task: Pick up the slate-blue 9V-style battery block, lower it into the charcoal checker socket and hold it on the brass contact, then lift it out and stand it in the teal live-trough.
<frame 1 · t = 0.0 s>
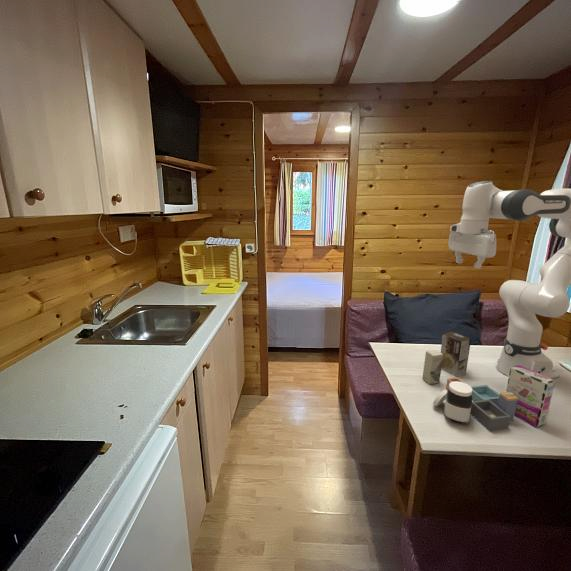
hand: (467, 265, 116), 48 cm above the table, fingers open, 8 cm apart
candy bar box: (522, 416, 106), on the table
spread jar: (450, 413, 108), on the table
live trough: (483, 400, 114), on the table
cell: (504, 418, 105), on the table
box: (430, 381, 127), on the table
coffee box: (452, 370, 135), on the table
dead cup: (454, 392, 119), on the table
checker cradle: (488, 420, 104), on the table
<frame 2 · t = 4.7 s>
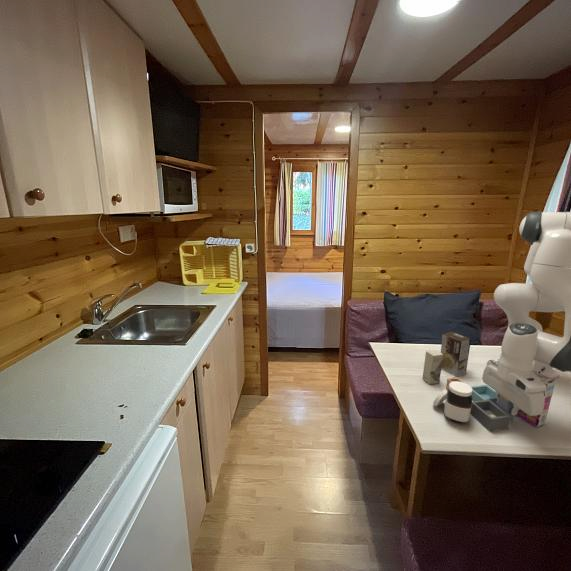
hand: (506, 409, 104), 4 cm above the table, fingers closed on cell, 3 cm apart
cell: (504, 418, 105), on the table, touching gripper
everything else where it was.
when the fingers open (5 cm above the table, at t = 16.8 s): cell stays where it is, resting on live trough.
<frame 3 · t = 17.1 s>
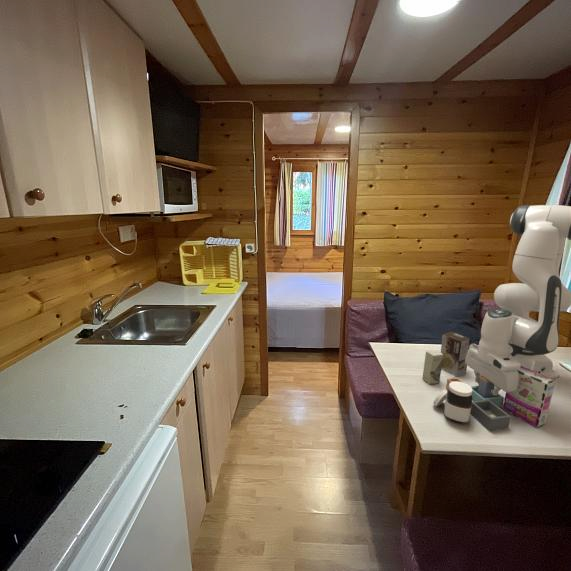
hand: (486, 388, 113), 5 cm above the table, fingers open, 6 cm apart
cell: (484, 399, 114), point 1 cm above the table, touching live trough
everything else where it was.
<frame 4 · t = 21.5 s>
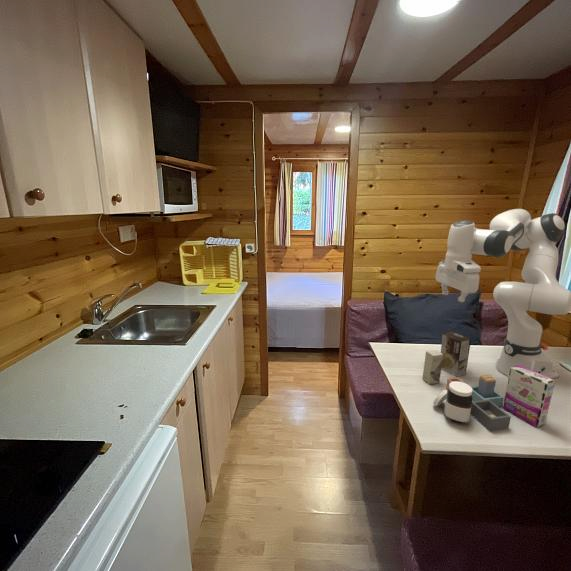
hand: (452, 297, 123), 34 cm above the table, fingers open, 8 cm apart
nothing on the table moved.
at the end: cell 0.0 cm off-centre on the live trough, point 0.6 cm above the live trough's base; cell tilted 0°; the gripper is holding nothing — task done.
